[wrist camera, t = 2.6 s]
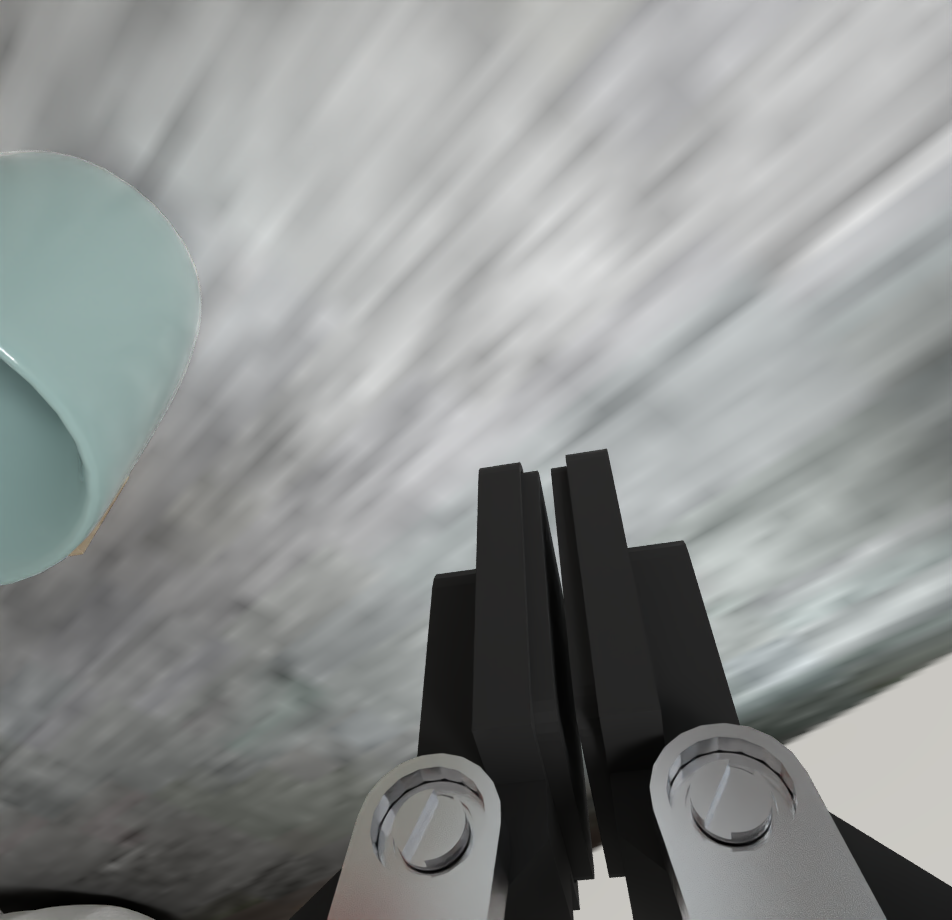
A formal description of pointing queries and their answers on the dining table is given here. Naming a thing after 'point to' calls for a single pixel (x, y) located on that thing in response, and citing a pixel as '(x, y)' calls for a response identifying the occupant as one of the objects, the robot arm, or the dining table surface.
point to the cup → (81, 347)
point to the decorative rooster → (77, 913)
